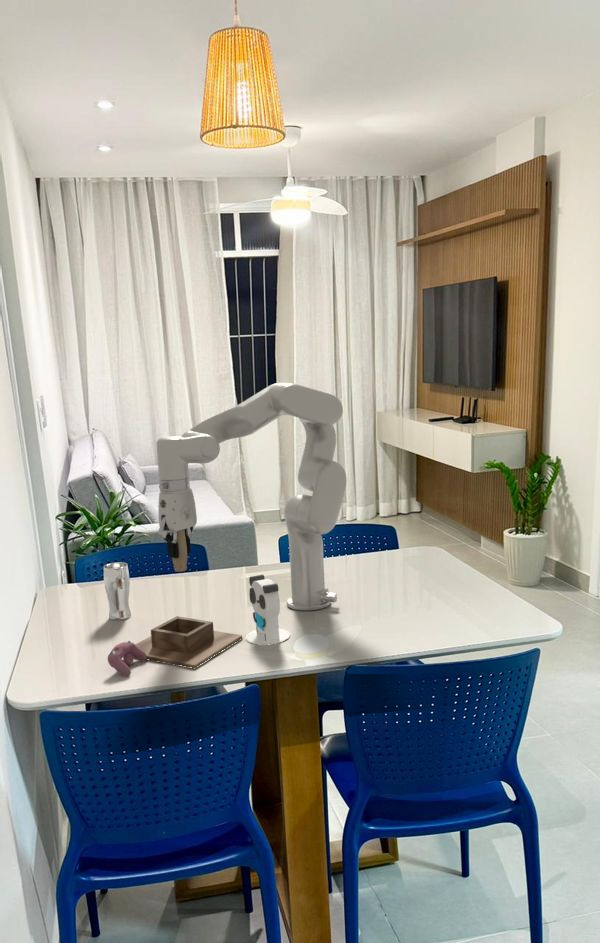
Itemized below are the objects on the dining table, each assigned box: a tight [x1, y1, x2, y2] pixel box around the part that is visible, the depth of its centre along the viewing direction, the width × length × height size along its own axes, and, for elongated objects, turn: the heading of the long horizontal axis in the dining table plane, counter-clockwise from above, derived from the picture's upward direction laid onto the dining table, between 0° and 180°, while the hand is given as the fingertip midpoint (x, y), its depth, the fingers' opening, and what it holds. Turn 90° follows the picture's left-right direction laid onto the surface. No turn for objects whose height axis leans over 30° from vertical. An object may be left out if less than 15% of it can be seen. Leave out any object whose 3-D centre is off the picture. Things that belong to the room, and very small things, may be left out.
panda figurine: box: [245, 574, 291, 646], centre depth 194 cm, size 12×11×15 cm
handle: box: [170, 514, 189, 573], centre depth 196 cm, size 5×6×15 cm
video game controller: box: [107, 640, 148, 677], centre depth 179 cm, size 10×5×7 cm, turn 165°
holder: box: [134, 615, 243, 669], centre depth 190 cm, size 22×20×6 cm
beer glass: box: [103, 561, 132, 621], centre depth 214 cm, size 7×7×15 cm
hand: (179, 554), depth 196 cm, fingers closed on handle, 4 cm apart
